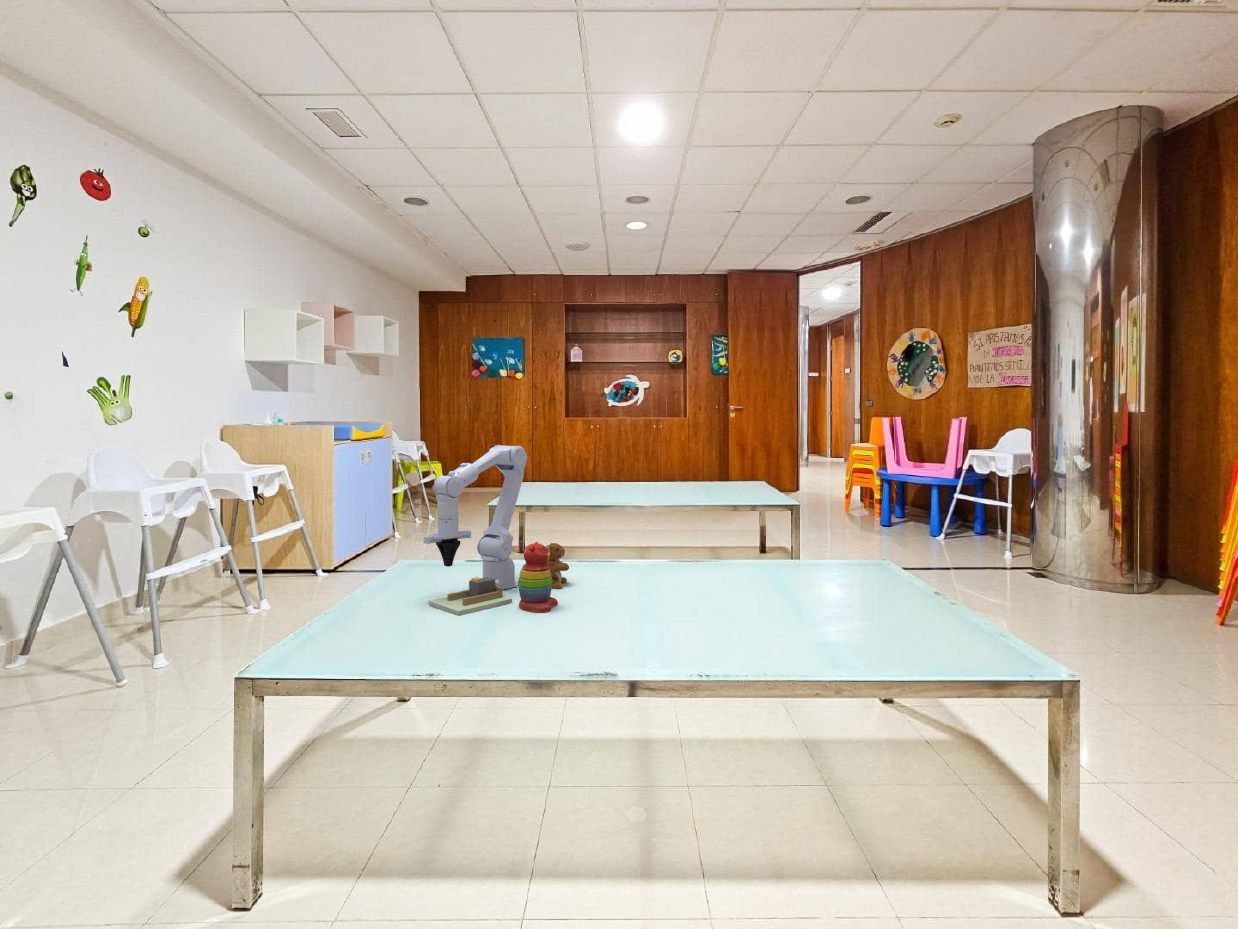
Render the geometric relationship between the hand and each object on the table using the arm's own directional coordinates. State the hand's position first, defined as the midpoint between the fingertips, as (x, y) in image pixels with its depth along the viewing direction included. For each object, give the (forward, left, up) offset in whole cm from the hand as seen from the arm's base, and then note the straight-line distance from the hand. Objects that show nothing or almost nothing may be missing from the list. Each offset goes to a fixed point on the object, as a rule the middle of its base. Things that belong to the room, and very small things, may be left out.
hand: (448, 565), depth 198 cm
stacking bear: (-13, +23, -10) cm, 28 cm away
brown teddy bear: (-32, +6, -10) cm, 35 cm away
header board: (-2, +8, -10) cm, 13 cm away
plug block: (-6, +8, -9) cm, 13 cm away
